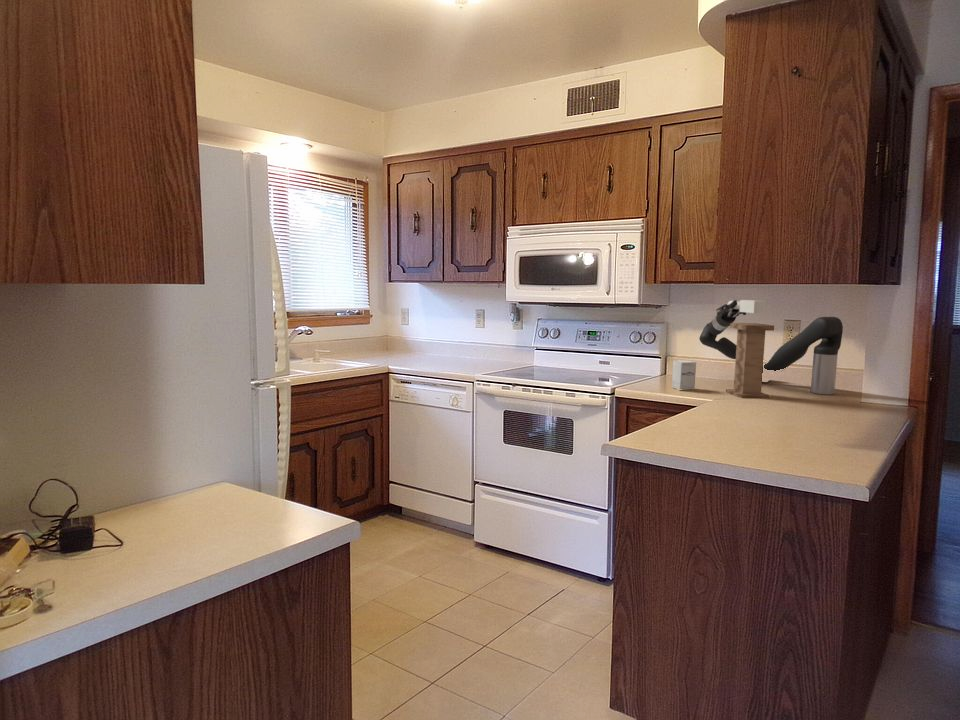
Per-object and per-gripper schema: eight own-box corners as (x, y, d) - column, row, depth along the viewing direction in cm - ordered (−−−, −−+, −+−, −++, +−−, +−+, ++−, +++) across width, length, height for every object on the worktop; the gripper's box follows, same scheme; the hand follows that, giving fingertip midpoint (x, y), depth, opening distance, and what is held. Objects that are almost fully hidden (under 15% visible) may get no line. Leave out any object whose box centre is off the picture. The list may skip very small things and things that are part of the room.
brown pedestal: (725, 392, 282) (730, 322, 278) (752, 392, 283) (757, 323, 279) (741, 398, 268) (746, 325, 264) (769, 398, 269) (774, 325, 265)
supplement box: (679, 390, 283) (681, 362, 282) (671, 388, 290) (672, 360, 289) (695, 390, 285) (696, 362, 283) (686, 387, 292) (688, 359, 290)
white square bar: (725, 310, 290) (726, 298, 289) (736, 310, 290) (737, 299, 290) (753, 313, 265) (754, 301, 264) (765, 313, 266) (766, 301, 265)
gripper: (740, 327, 296) (758, 310, 280) (710, 326, 295) (726, 309, 279) (737, 312, 299) (754, 294, 283) (707, 312, 298) (723, 294, 282)
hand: (740, 302), depth 281 cm, fingers closed on white square bar, 3 cm apart
